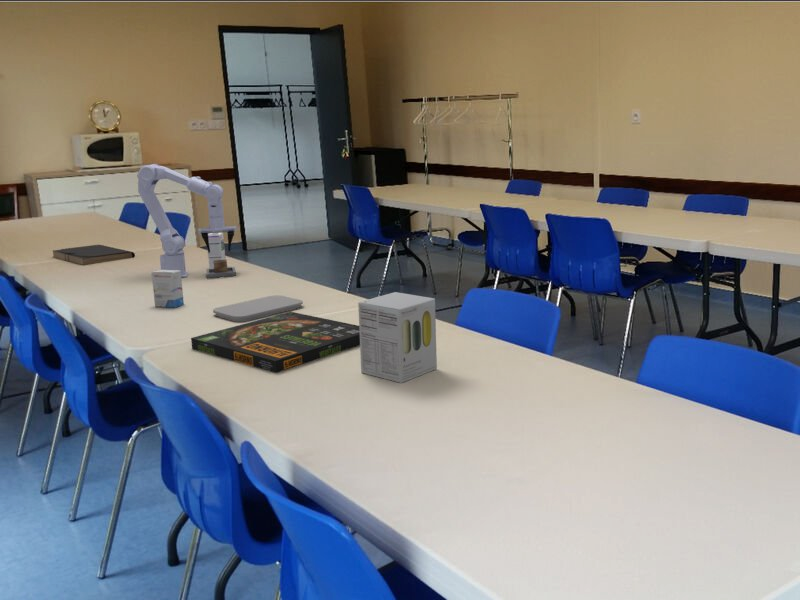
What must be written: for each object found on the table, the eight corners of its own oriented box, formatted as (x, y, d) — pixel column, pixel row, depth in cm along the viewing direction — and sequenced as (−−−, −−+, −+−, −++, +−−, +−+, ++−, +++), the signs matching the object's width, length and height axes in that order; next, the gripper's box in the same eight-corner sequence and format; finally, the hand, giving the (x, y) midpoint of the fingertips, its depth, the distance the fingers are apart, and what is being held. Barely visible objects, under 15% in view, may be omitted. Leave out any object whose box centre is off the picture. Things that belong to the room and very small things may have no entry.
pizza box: (376, 341, 221) (375, 329, 220) (276, 375, 196) (275, 360, 195) (291, 323, 244) (290, 311, 243) (192, 350, 219) (191, 337, 218)
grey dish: (207, 278, 312) (206, 274, 311) (206, 273, 322) (206, 269, 322) (236, 276, 314) (235, 271, 314) (234, 271, 325) (234, 266, 324)
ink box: (185, 304, 271) (181, 269, 268) (176, 308, 266) (172, 272, 263) (163, 303, 273) (159, 268, 271) (154, 306, 269) (150, 271, 266)
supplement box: (401, 384, 185) (398, 309, 181) (360, 373, 193) (356, 301, 189) (438, 369, 194) (436, 298, 190) (397, 359, 203) (394, 291, 199)
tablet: (209, 316, 255) (208, 309, 254) (276, 301, 273) (276, 294, 272) (238, 324, 243) (238, 317, 243) (307, 308, 261) (306, 301, 261)
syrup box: (223, 269, 329) (220, 234, 326) (208, 270, 330) (205, 234, 326) (226, 266, 335) (223, 231, 332) (212, 267, 335) (209, 232, 332)
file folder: (51, 249, 372) (102, 243, 388) (52, 258, 373) (103, 251, 389) (81, 257, 349) (134, 250, 365) (82, 266, 350) (135, 259, 366)
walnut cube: (214, 275, 315) (213, 262, 314) (214, 273, 320) (213, 260, 318) (227, 274, 316) (226, 261, 315) (227, 272, 321) (226, 259, 320)
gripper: (196, 218, 308) (200, 254, 311) (235, 216, 311) (238, 251, 314) (197, 216, 314) (200, 251, 317) (235, 214, 317) (237, 248, 321)
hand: (219, 251), depth 316 cm, fingers open, 7 cm apart
